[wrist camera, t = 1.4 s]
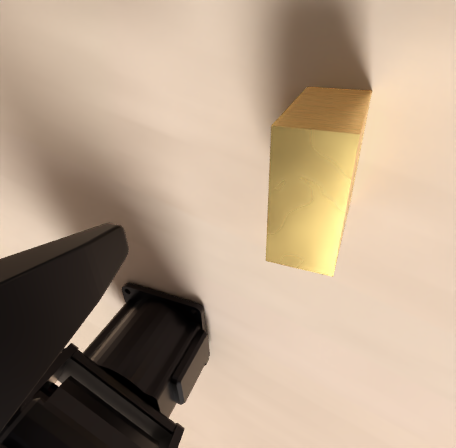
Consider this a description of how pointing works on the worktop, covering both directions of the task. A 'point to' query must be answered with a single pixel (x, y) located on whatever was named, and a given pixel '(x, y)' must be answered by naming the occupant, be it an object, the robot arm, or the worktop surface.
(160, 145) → the worktop surface
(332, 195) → the gold rectangular block
